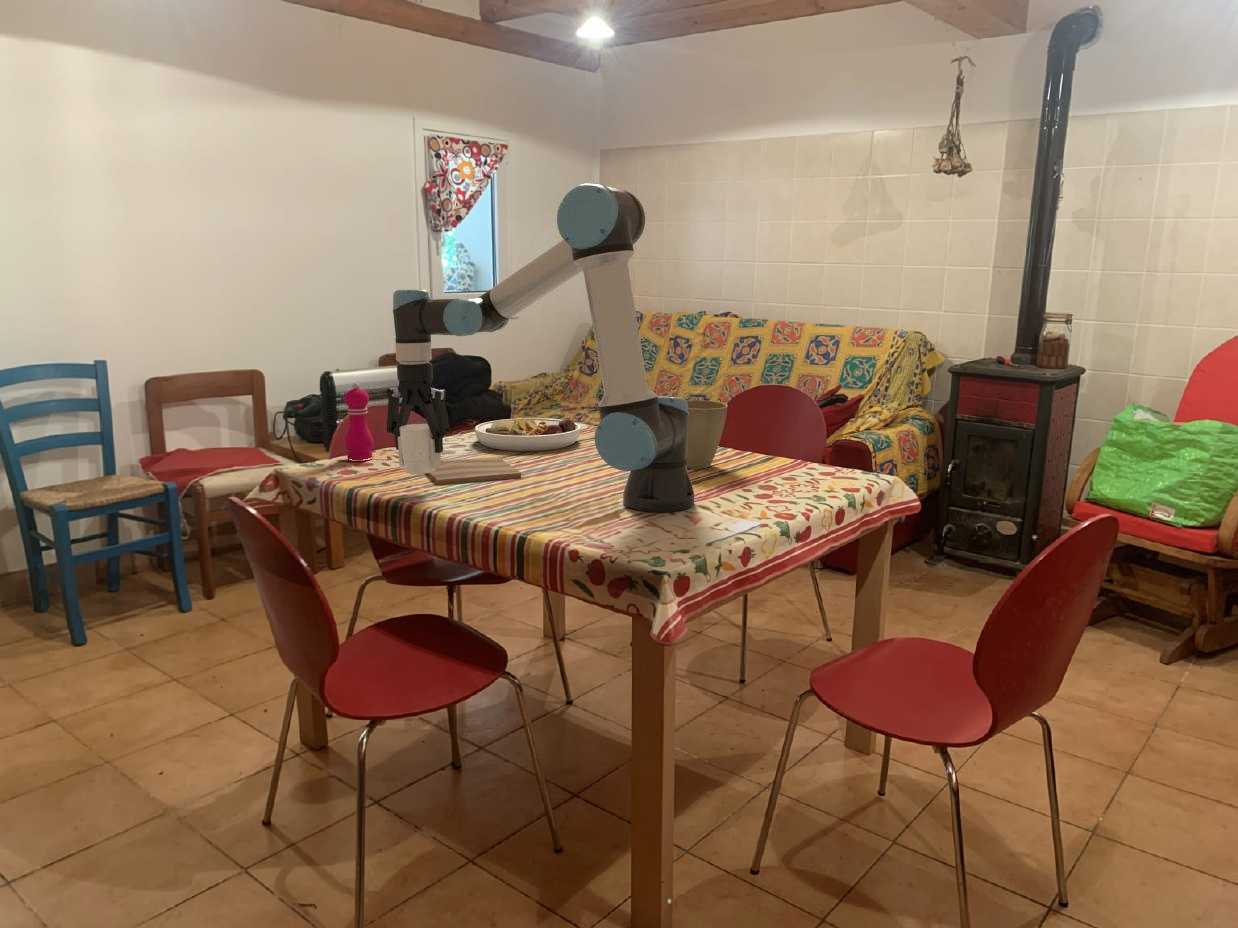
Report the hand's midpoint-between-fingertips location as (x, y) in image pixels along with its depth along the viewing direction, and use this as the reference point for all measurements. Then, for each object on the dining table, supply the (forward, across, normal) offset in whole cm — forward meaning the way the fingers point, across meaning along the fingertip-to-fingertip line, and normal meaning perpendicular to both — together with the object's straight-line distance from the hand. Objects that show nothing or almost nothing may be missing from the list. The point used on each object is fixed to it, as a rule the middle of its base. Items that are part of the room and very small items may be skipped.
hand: (420, 465), depth 196 cm
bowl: (+6, +6, -62) cm, 62 cm away
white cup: (+1, 0, 0) cm, 1 cm away
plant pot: (+7, -48, -50) cm, 70 cm away
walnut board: (+6, 0, -21) cm, 22 cm away
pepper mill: (+6, +34, -23) cm, 42 cm away
